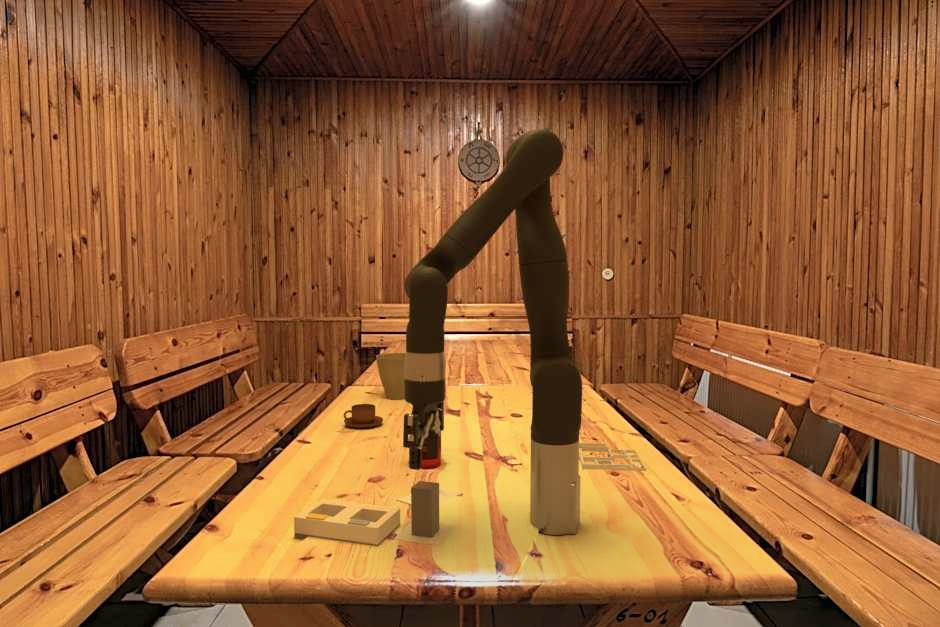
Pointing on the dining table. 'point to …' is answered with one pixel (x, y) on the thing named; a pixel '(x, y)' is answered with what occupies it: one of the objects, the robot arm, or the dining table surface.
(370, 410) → the cup and saucer
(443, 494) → the external hard drive
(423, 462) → the canned food
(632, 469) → the floor plan model
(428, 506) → the plug
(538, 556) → the dining table surface
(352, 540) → the socket block
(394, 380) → the plant pot
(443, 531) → the mat
